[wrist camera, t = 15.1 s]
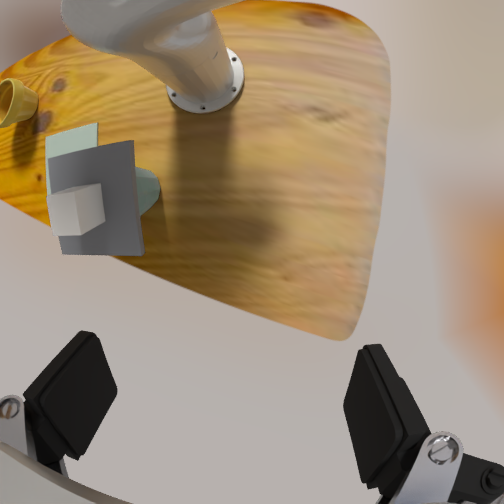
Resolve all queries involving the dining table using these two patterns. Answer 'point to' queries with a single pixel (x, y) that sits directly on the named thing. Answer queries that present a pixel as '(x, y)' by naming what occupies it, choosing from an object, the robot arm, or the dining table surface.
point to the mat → (70, 143)
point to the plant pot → (16, 102)
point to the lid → (96, 201)
